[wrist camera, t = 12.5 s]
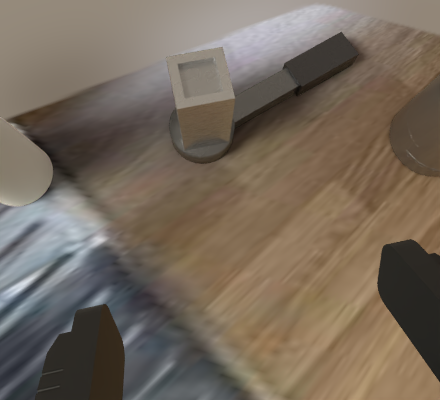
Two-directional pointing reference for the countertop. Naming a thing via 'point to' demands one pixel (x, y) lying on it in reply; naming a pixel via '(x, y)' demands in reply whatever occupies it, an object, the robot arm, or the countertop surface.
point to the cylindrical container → (21, 168)
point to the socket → (202, 97)
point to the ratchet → (275, 91)
